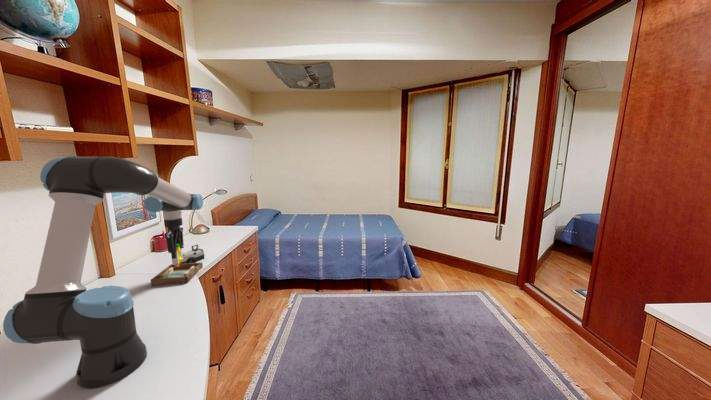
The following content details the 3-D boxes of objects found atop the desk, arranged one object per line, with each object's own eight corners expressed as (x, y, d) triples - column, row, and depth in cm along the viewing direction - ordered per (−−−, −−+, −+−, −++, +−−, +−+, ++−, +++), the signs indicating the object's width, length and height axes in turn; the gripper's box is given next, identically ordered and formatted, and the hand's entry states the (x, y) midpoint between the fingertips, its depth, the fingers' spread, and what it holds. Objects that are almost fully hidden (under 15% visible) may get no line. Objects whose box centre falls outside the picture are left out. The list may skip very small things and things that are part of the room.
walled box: (187, 283, 128) (187, 277, 127) (151, 286, 125) (150, 279, 125) (202, 268, 146) (202, 262, 146) (171, 270, 144) (170, 264, 143)
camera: (182, 269, 146) (180, 252, 144) (174, 266, 149) (172, 250, 147) (207, 260, 159) (206, 244, 157) (199, 258, 162) (198, 242, 161)
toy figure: (167, 268, 132) (166, 245, 130) (170, 265, 135) (169, 243, 134) (183, 267, 134) (182, 245, 132) (185, 264, 138) (184, 242, 136)
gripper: (173, 221, 124) (177, 268, 127) (188, 214, 140) (192, 256, 143) (155, 222, 122) (160, 269, 126) (173, 215, 139) (177, 256, 142)
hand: (177, 262), depth 135 cm, fingers closed on toy figure, 4 cm apart
